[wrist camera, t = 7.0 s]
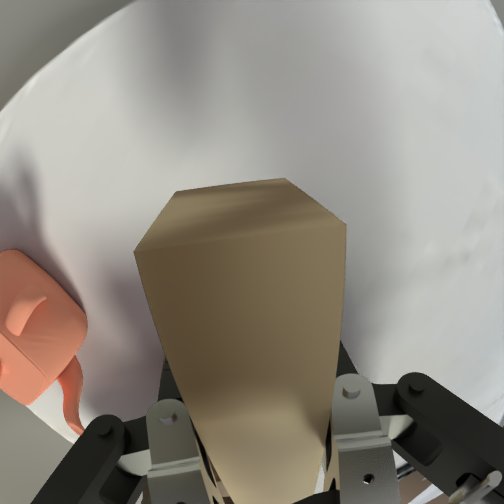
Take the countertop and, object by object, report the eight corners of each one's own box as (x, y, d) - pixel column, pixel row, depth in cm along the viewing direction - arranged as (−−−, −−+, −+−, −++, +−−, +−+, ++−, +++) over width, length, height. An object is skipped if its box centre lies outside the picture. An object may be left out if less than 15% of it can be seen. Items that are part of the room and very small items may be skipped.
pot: (7, 347, 30) (-29, 404, 19) (-27, 237, 24) (-89, 283, 12) (112, 368, 33) (88, 447, 22) (87, 242, 26) (25, 312, 15)
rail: (284, 178, 9) (346, 224, 5) (293, 451, 16) (307, 515, 11) (175, 191, 9) (133, 251, 5) (239, 459, 16) (247, 524, 11)
